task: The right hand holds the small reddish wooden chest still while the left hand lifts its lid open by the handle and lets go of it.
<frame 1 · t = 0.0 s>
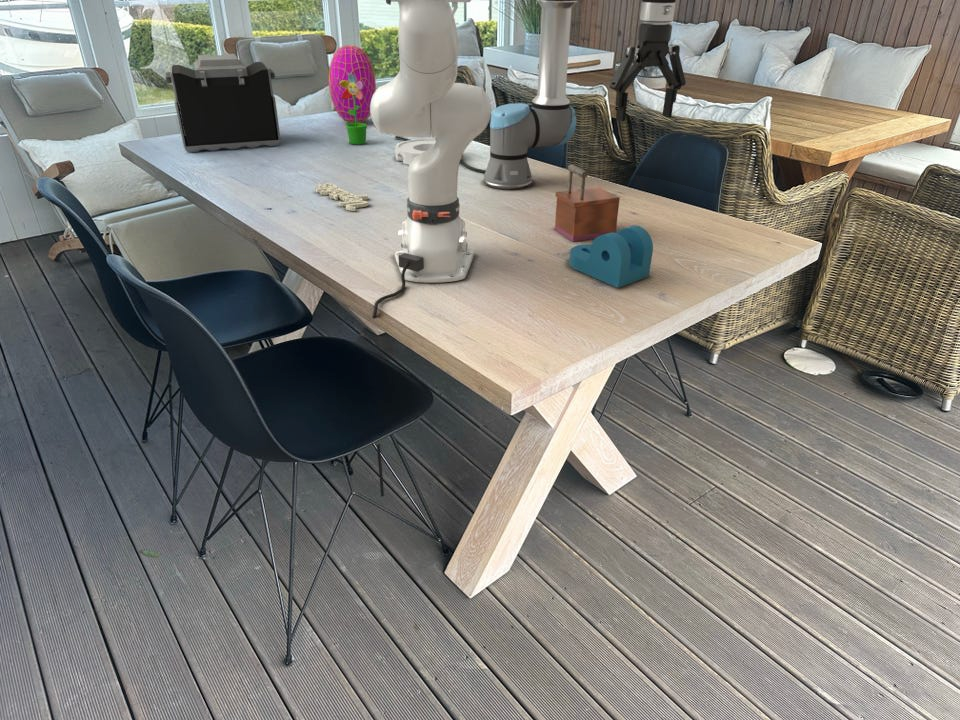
left hand: (430, 23, 166), 48 cm above the table, tool pointing down, fingers open, 8 cm apart
right hand: (643, 118, 169), 28 cm above the table, tool pointing down, fingers open, 13 cm apart
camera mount: (603, 270, 158), on the table
decorative egg: (355, 123, 293), on the table
chest: (584, 232, 180), on the table
decorative sign: (344, 197, 203), on the table
electronic device: (232, 143, 259), on the table
potted flower: (358, 143, 262), on the table
lid: (588, 182, 173), point 13 cm above the table, hinge at 0.0°
ashtray: (428, 158, 244), on the table
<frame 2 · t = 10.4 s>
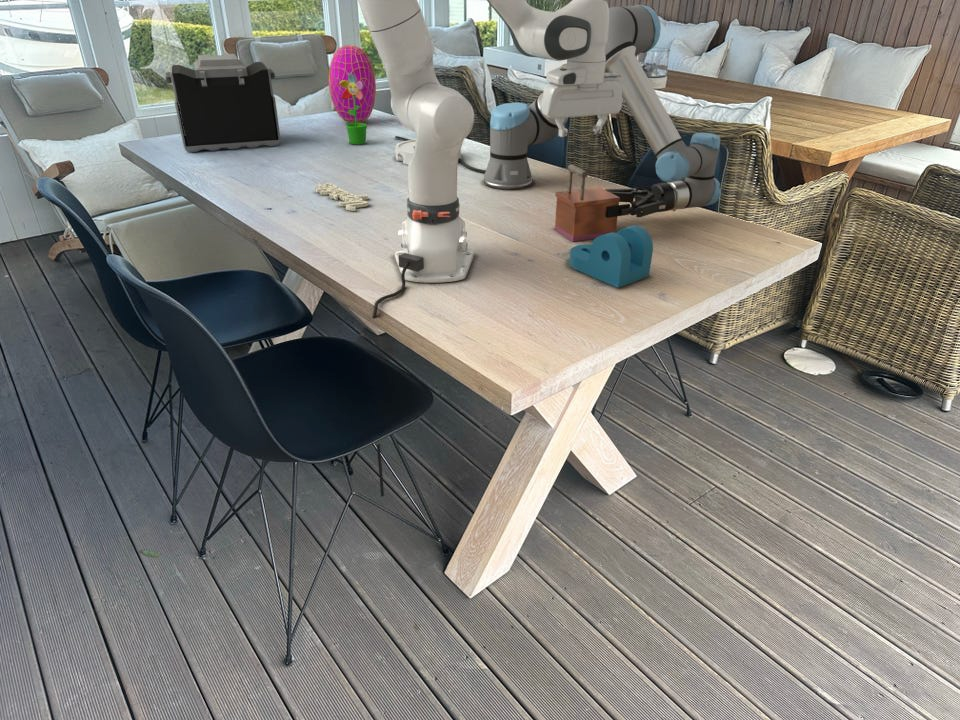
left hand: (580, 135, 166), 25 cm above the table, tool pointing down, fingers open, 8 cm apart
right hand: (596, 206, 178), 7 cm above the table, tool horizontal, fingers closed on chest, 10 cm apart
chest: (584, 232, 180), on the table, touching right hand
everything else where it was.
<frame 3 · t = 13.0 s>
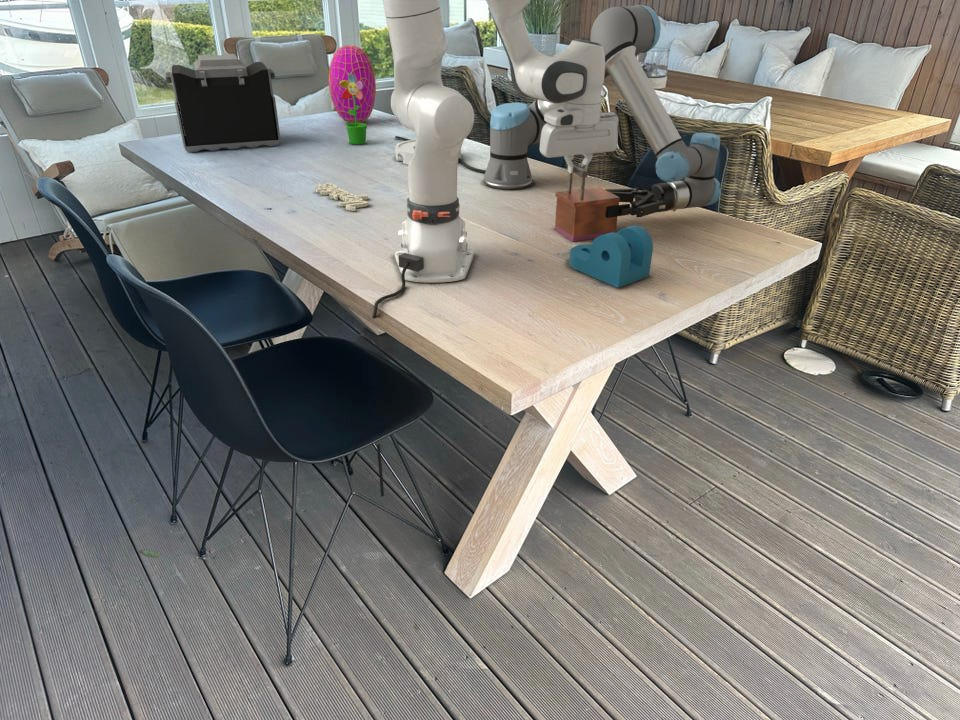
left hand: (577, 172, 171), 16 cm above the table, tool pointing down, fingers closed on lid, 2 cm apart
right hand: (596, 206, 178), 7 cm above the table, tool horizontal, fingers closed on chest, 10 cm apart
chest: (584, 232, 180), on the table, touching right hand
lid: (588, 182, 173), point 13 cm above the table, hinge at 0.0°, touching left hand
everything else where it was.
when the right hand's fingers open (7 cm above the table, at t = 19.6 s): chest stays where it is, on the table.
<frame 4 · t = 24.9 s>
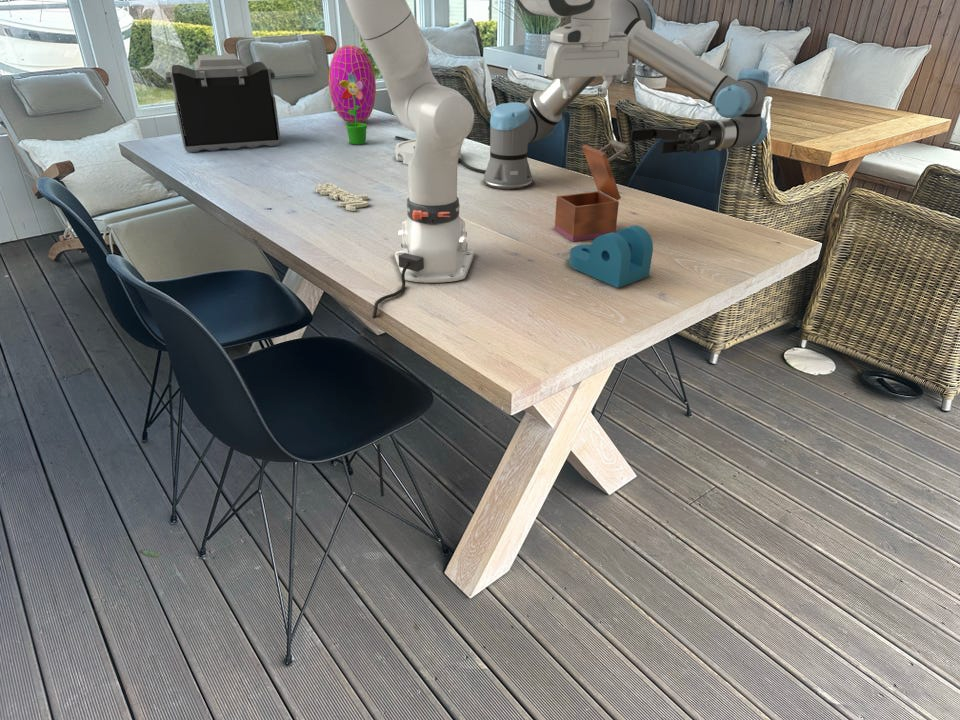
left hand: (584, 97, 162), 34 cm above the table, tool pointing down, fingers open, 8 cm apart
right hand: (646, 141, 174), 22 cm above the table, tool horizontal, fingers open, 13 cm apart
chest: (584, 232, 180), on the table
lid: (612, 164, 174), point 17 cm above the table, hinge at 63.3°
everything else where it was.
at the end: lid at +63° (first picture: +0°); the left hand is holding nothing; the right hand is holding nothing; chest tilted 0°; chest never tilted more than 1° during the clip; chest moved 0.1 cm from its start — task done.
